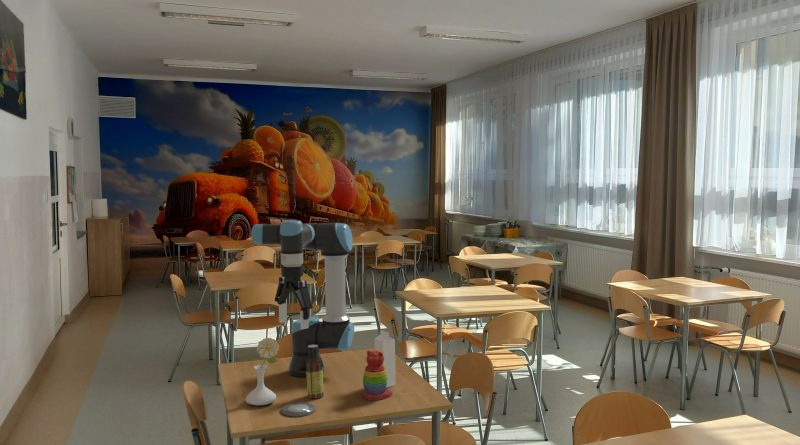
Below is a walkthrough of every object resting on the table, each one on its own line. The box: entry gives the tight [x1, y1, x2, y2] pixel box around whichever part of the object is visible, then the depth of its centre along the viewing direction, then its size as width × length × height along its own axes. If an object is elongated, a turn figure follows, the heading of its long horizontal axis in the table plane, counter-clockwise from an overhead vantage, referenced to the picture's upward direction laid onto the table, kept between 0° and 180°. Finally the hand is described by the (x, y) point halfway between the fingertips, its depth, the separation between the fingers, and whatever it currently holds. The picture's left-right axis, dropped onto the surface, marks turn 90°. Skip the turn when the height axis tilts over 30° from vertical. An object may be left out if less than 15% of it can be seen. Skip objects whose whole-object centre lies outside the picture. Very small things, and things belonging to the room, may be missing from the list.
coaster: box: [281, 402, 316, 418], centre depth 231 cm, size 12×12×1 cm
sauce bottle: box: [306, 345, 324, 399], centre depth 245 cm, size 7×6×20 cm
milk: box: [374, 330, 396, 389], centre depth 257 cm, size 6×6×22 cm
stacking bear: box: [362, 350, 393, 401], centre depth 245 cm, size 11×10×18 cm
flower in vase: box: [245, 336, 280, 406], centre depth 239 cm, size 13×11×25 cm
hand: (293, 325), depth 223 cm, fingers open, 13 cm apart
